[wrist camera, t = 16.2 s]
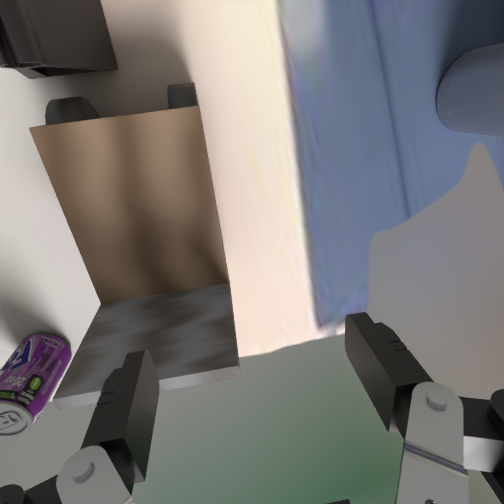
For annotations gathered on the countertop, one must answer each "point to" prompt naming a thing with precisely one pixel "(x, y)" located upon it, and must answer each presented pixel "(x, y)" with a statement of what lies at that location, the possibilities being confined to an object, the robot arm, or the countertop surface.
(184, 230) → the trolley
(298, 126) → the countertop surface
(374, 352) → the robot arm
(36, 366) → the beverage can
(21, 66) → the phone stand
